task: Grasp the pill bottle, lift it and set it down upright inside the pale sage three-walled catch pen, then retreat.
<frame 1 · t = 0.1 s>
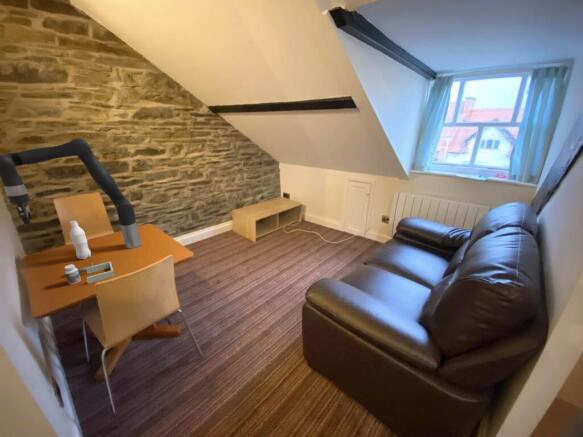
hand: (28, 221, 134), 29 cm above the table, fingers open, 8 cm apart
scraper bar: (79, 272, 140), on the table
pill bottle: (75, 281, 132), on the table
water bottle: (85, 257, 155), on the table
catch pen: (100, 274, 138), on the table
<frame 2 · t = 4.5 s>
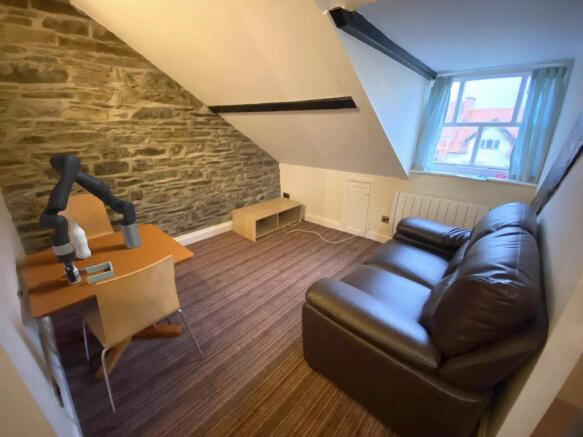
hand: (73, 278, 131), 2 cm above the table, fingers closed on pill bottle, 5 cm apart
pill bottle: (75, 281, 132), on the table, touching gripper
everything else where it was.
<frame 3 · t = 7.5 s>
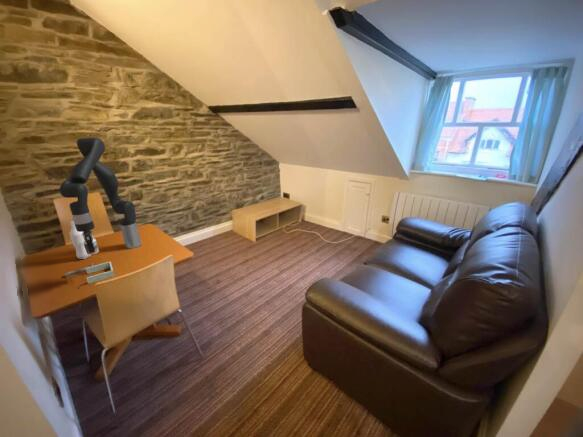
hand: (92, 249, 132), 16 cm above the table, fingers closed on pill bottle, 5 cm apart
pill bottle: (93, 252, 133), point 14 cm above the table, touching gripper
everything else where it was.
when the fingers open (3 cm above the table, at t = 10.6 s): pill bottle drops 1 cm, on the table.
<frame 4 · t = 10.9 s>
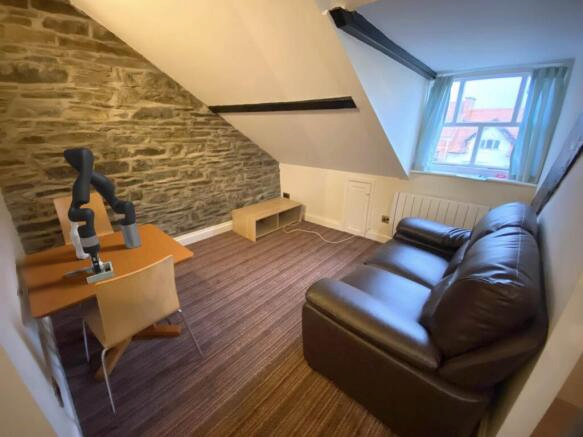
hand: (98, 268, 137), 4 cm above the table, fingers open, 7 cm apart
pill bottle: (100, 275, 138), on the table
everything else where it was.
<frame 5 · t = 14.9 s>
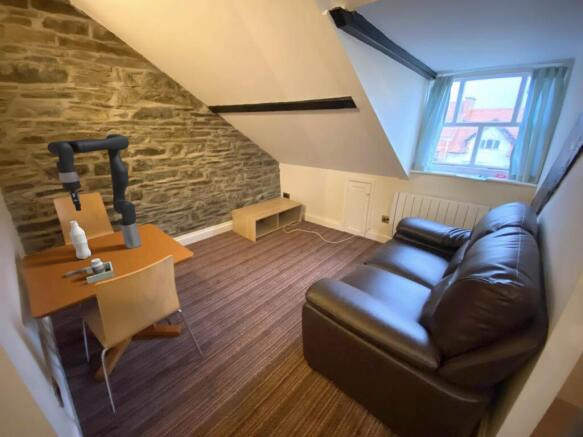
hand: (78, 208, 136), 36 cm above the table, fingers open, 8 cm apart
nothing on the table moved.
at the end: pill bottle inside the target area (0.0 cm from its centre), on the table; pill bottle tilted 0°; the gripper is holding nothing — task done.
